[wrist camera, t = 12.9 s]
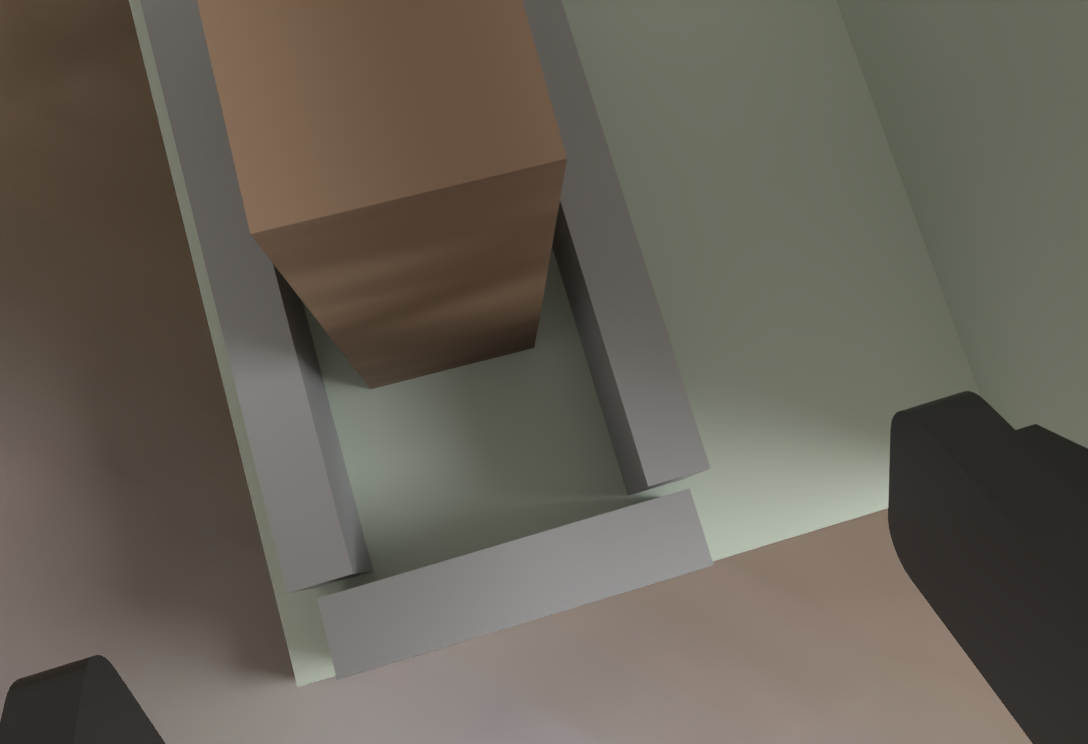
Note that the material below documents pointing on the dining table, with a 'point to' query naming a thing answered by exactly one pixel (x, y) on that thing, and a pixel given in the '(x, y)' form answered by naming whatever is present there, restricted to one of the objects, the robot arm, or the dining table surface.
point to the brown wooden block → (395, 169)
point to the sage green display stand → (666, 308)
